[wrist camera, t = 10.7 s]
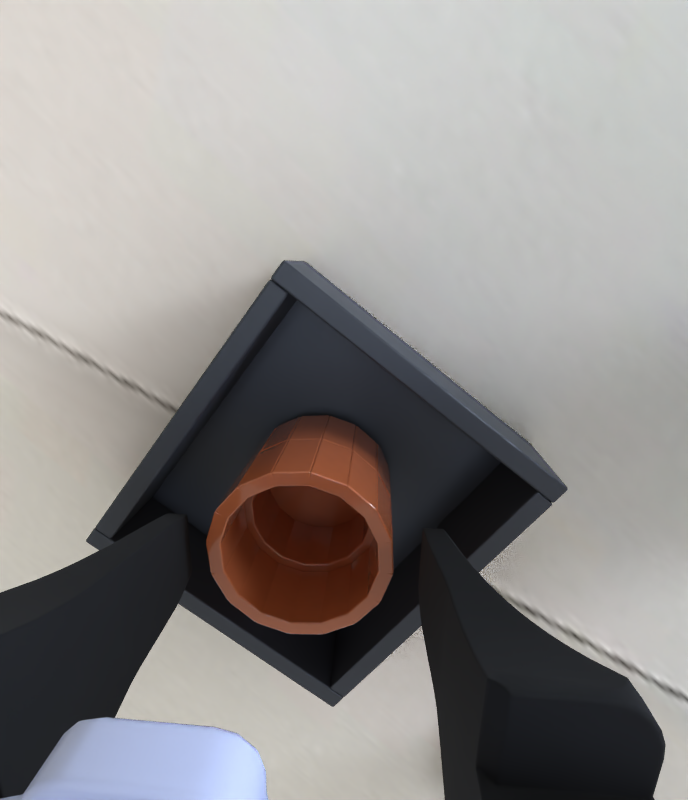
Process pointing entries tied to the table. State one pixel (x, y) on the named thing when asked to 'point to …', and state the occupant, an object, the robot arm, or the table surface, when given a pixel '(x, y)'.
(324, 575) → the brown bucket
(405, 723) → the table surface
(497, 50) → the table surface
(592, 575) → the table surface
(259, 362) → the tray
